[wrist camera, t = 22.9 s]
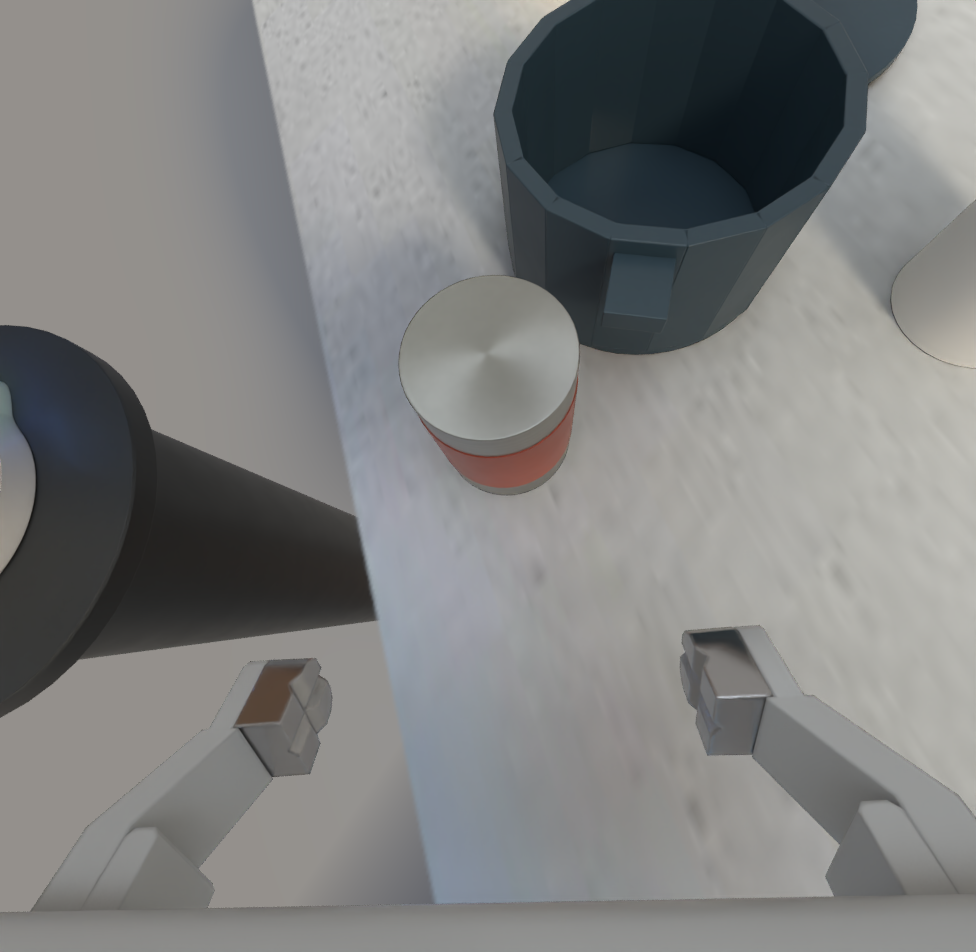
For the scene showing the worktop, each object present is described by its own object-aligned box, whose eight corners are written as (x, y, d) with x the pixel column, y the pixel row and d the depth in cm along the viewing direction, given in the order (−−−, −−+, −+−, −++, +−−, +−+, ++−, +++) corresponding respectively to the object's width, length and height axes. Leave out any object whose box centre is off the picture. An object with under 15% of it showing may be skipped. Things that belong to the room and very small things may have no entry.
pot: (478, 379, 27) (447, 283, 19) (543, 102, 31) (542, -74, 23) (753, 419, 24) (857, 329, 16) (783, 112, 29) (876, -81, 21)
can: (434, 483, 26) (376, 425, 17) (461, 371, 27) (421, 264, 18) (558, 507, 25) (563, 457, 16) (580, 388, 26) (595, 283, 17)
